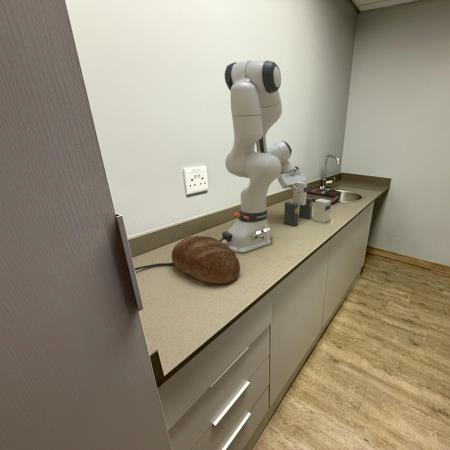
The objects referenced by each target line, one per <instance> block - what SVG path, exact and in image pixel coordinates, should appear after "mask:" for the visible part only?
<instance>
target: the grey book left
mask: <svg viewBox="0 0 450 450" xmlns="http://www.w3.org/2000/svg"><path fill="white" fill-rule="evenodd" d="M283 215H284V218H283V224H285V225H289V226H292V227H296V226H298V223H299V204H298V203H293V201H285V202H284V213H283Z"/></svg>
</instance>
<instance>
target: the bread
mask: <svg viewBox="0 0 450 450" xmlns="http://www.w3.org/2000/svg"><path fill="white" fill-rule="evenodd" d="M222 242H223V241H221V242H220V240H218V239H217V238H215V237H211V236H207V235H206V236H205V235H193V236H188V237H185V238H183V239H182V240H180V241H179V242H178V243H177V244H175V246H174V247H173V249H172V251H171V261H172V263H174V265H173V266H175V267H176V268H177V269H178V270H180V271H181V272H183V273H185V274H187V275H189V276H191V277H192V278H195V279H196V280H198V281H200V282H203V283H208V284H227V283H228V284H229V283H232V282H233V281H234V280H235V279H236V278H238V276H239V274H240V272H241V263H240V261H239V258H238V256H237V255H236V252H233V251H232V250H231V249H230V248H229V247H228V246H227V245H226V244H224V243H222Z"/></svg>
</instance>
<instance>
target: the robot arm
mask: <svg viewBox="0 0 450 450" xmlns="http://www.w3.org/2000/svg"><path fill="white" fill-rule="evenodd" d="M224 82H225V84H226V87H227V89H228V90H229V91H230V112H231V121H232V127H233V145H232V148H231V150H230V152H229V153H227V156H226V158H225V161H224V162H225V168H226V170H227V172H228V173H230V174H231V175H234V176H236V177H239V178H244V179H249V183H248V186H246V187H245V188H243V189H242V190H241V192H240V210H239V212H237V211H235V212H234V213H233V217H235V218H237V220H236V221H235V222H234V224H233V225H232V226H231V227H230V228H229V229H228V230H227V231H222V232H221V234H222V237H221V239H220V240H219V241H220V242H222V243H224V244H226V245H227V246H228V247H229V248H230V249H231V250H232V251H233V252H234V253H238V254H244V253H247V252H251V251H253V250H257V249H260V248H263V247H265V246H268V245H271V243H272V241H271V237H270V232H269V231H270V228H269V225H268V220H267V219H268V209H267V199H268V198H267V195H268V191H269V188H270V186H271V184H272V183H273V182H274V181H275V180H276V179H277V181H278V183H279V185H280V187H281V188H282V189H284V190H286V189H290V188H291V190H292V191H293V190H294V191H295V192H296V193H299V192H300V190H299V189H297V188H296V187H295V185H294V184H296V182H304V183H307V180H308V179H307V177H306V175H304V173H303V171H302V170H301V168H300V167H299V166H297V165H294V164H293V163H291V162H290V160H289V159H290V158H291V156H292V154H293V153H292V152H293V149H292V148H291V145H290V143H288V142H287V141H284V140H280V141H278V142H276V143H274V144H272V145H270V146H267V134H268V132H269V130H270V129H271V128H272V127H273V126H274V125H275V124H276V123H277V122H278V121H279V119H280V118H281V116H282V113H283V105H282V104H283V103H282V99H281V95H280V90H279V89H280V88H281V85H282V73H281V70H280V67H279V66H278V65H277V64H276V62H275V61H272V60H264V61H263V60H243V61H238V62H236V61H235V62H231V63H229V64H228V65H227V66H226V67H225V71H224ZM255 147H256V151H255ZM157 266H158V267H159V266H175V265H174V263H173V262H166V263H165V262H164V263H160V262H159V263H153V264H147V265H143V266H138V267H135V268H134V269H135V270H136V271H138V270H141V269H146V268H147V269H148V268H152V267H157Z"/></svg>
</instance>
